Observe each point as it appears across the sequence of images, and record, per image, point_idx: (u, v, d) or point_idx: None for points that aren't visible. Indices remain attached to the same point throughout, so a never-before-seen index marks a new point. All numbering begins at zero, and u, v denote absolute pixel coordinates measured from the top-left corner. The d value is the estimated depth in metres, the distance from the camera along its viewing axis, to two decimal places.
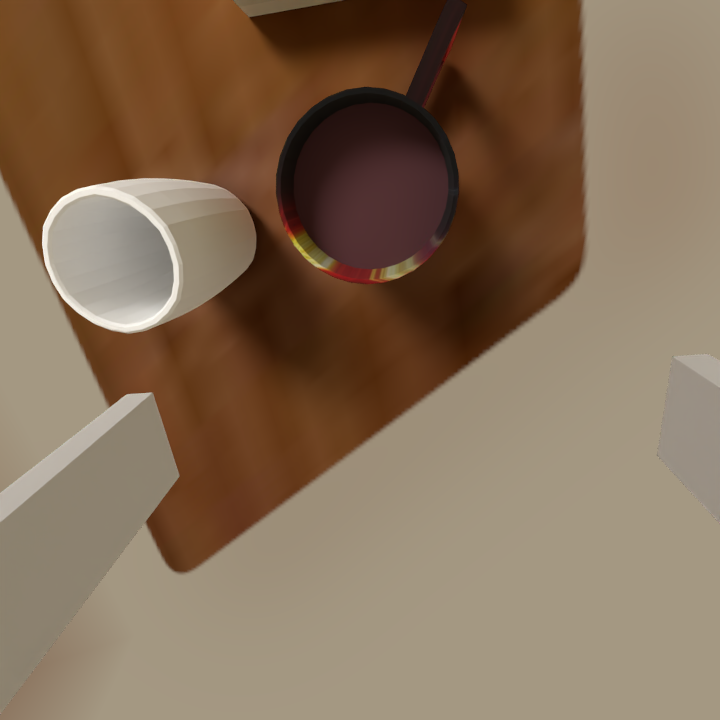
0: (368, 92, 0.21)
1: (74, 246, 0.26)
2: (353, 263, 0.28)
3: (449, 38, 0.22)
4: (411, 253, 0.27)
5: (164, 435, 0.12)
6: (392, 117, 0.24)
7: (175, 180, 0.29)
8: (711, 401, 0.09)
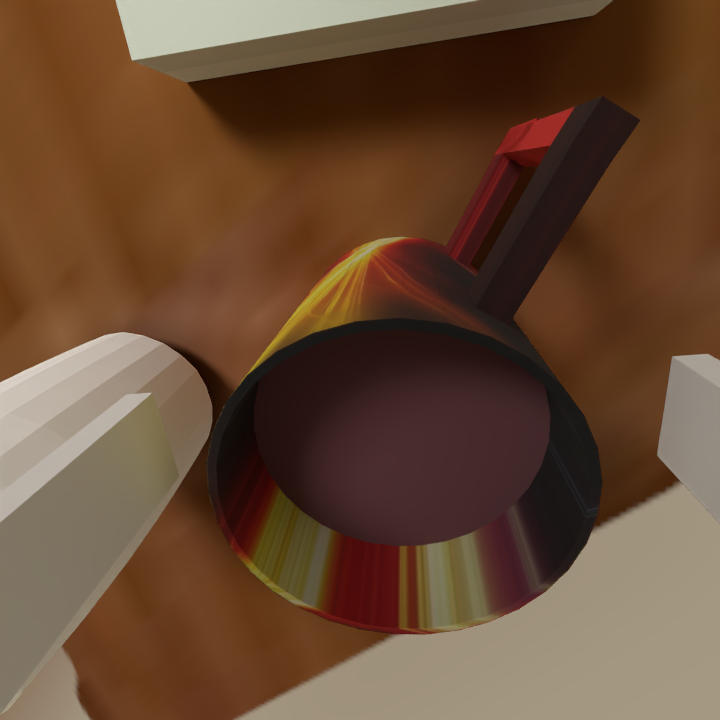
0: (407, 327, 0.09)
1: None
2: (365, 536, 0.15)
3: (589, 190, 0.10)
4: (470, 528, 0.15)
5: (164, 435, 0.12)
6: None
7: (53, 378, 0.17)
8: (711, 401, 0.09)
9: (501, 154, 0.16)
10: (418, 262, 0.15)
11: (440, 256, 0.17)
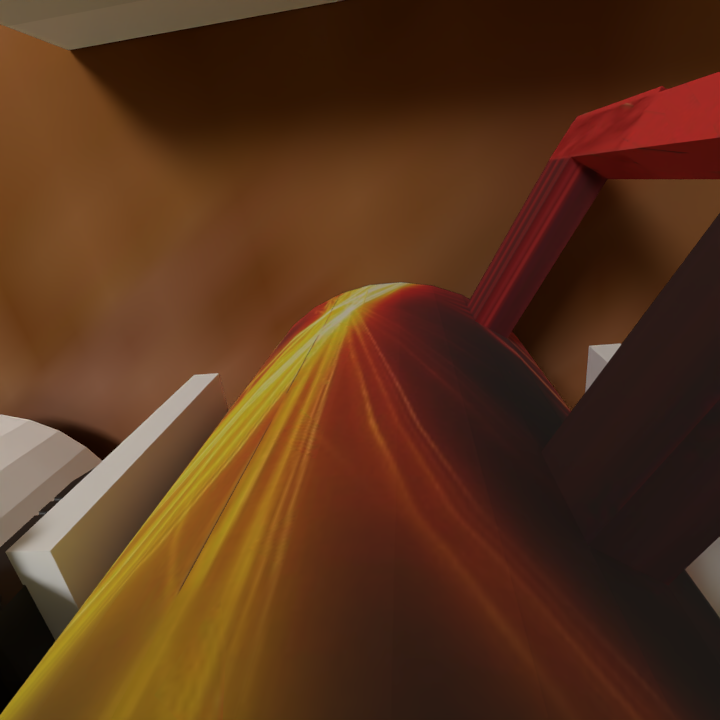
0: None
1: None
2: None
3: None
4: None
5: None
6: None
7: None
8: None
9: (568, 158, 0.09)
10: (430, 354, 0.08)
11: (464, 327, 0.10)
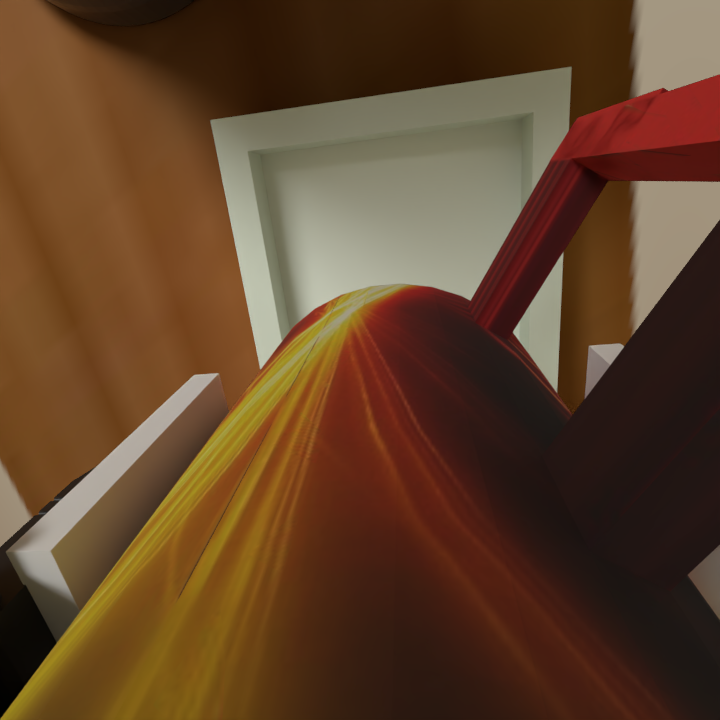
0: None
1: None
2: None
3: None
4: None
5: None
6: None
7: None
8: None
9: (568, 160, 0.09)
10: (430, 356, 0.08)
11: (464, 329, 0.10)
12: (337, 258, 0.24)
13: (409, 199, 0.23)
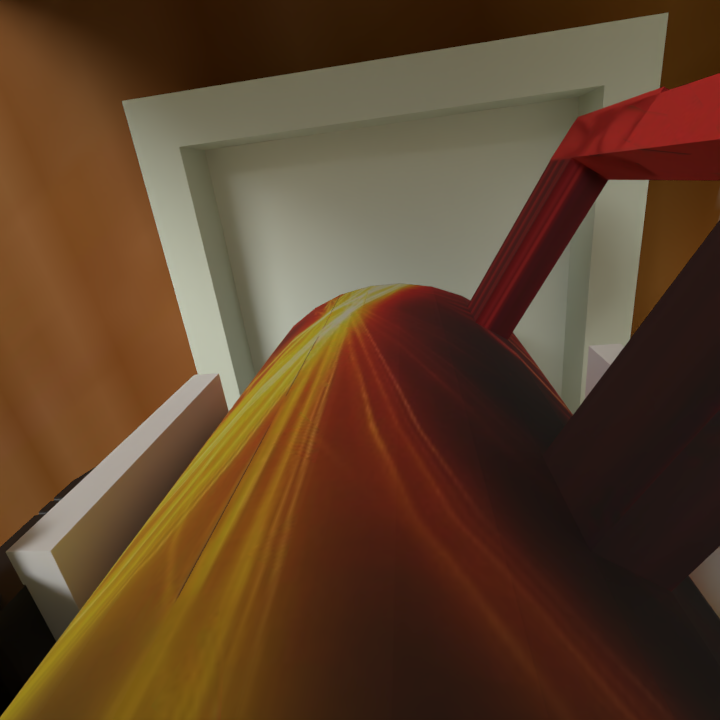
0: None
1: None
2: None
3: None
4: None
5: None
6: None
7: None
8: None
9: (569, 159, 0.09)
10: (430, 356, 0.08)
11: (464, 328, 0.10)
12: (316, 291, 0.18)
13: (414, 212, 0.16)
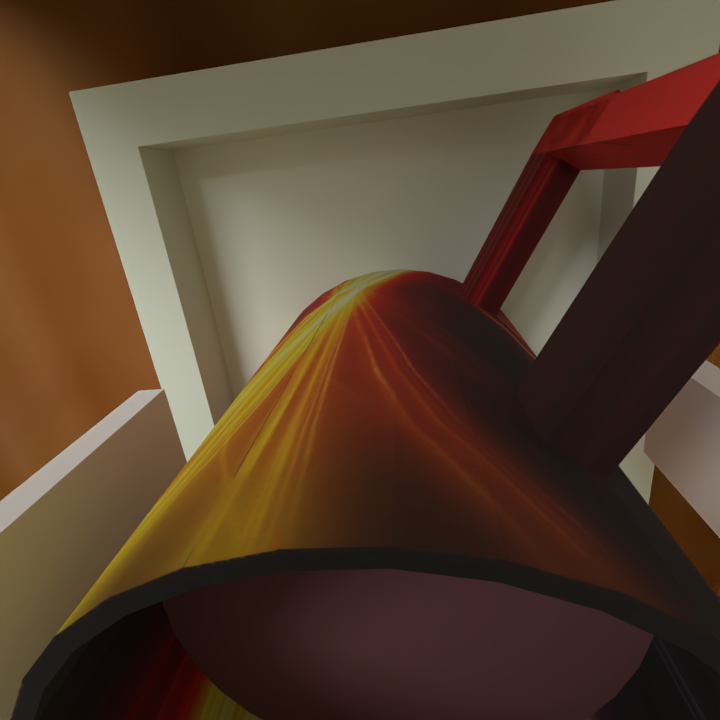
0: (408, 562, 0.04)
1: None
2: None
3: None
4: None
5: (175, 431, 0.12)
6: None
7: None
8: (693, 397, 0.09)
9: (545, 153, 0.11)
10: (425, 323, 0.09)
11: (456, 304, 0.11)
12: None
13: (415, 222, 0.14)
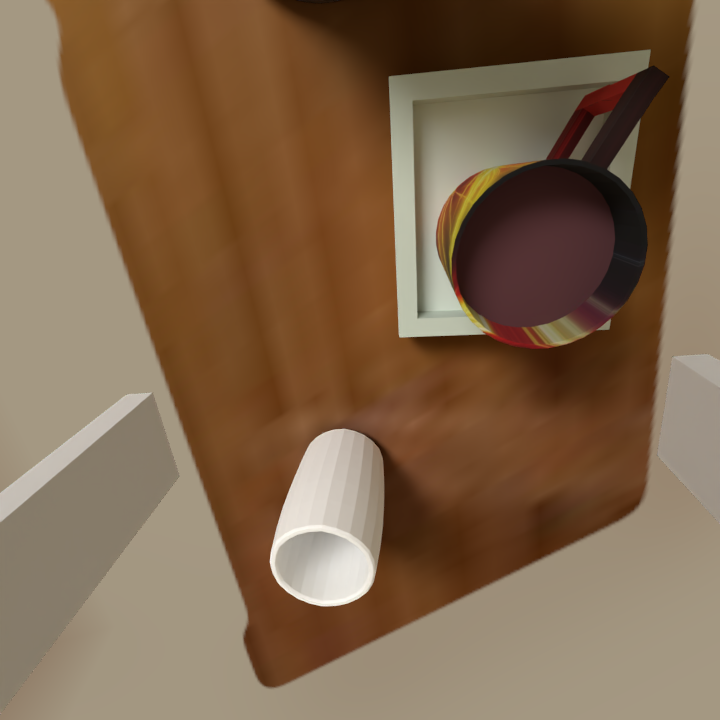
0: (566, 163, 0.21)
1: None
2: (502, 321, 0.27)
3: (645, 108, 0.21)
4: (564, 313, 0.27)
5: (164, 435, 0.12)
6: (566, 181, 0.24)
7: (344, 462, 0.37)
8: (711, 401, 0.09)
9: (581, 108, 0.28)
10: None
11: None
12: None
13: (518, 143, 0.31)
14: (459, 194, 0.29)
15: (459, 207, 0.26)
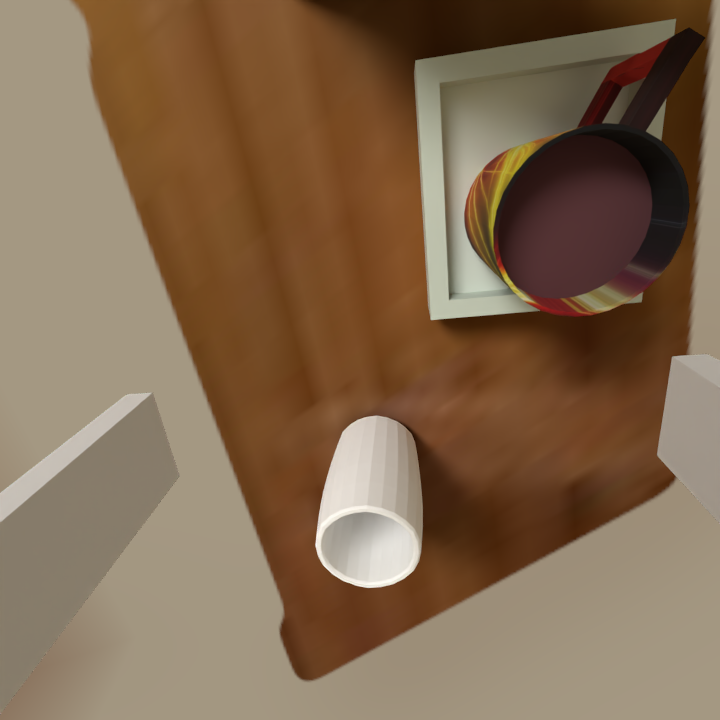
0: (606, 128, 0.21)
1: None
2: (540, 293, 0.27)
3: (681, 71, 0.22)
4: (602, 282, 0.27)
5: (164, 435, 0.12)
6: (602, 149, 0.24)
7: (381, 446, 0.38)
8: (711, 400, 0.09)
9: (609, 80, 0.28)
10: None
11: None
12: None
13: (544, 120, 0.32)
14: (490, 171, 0.29)
15: (495, 181, 0.26)
